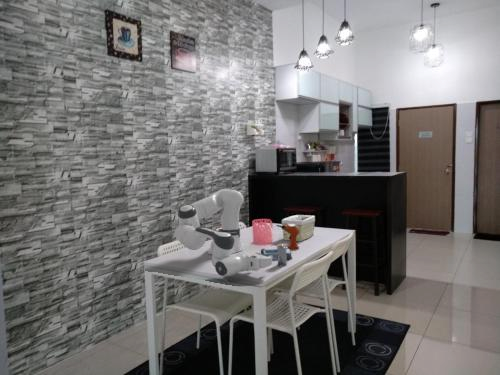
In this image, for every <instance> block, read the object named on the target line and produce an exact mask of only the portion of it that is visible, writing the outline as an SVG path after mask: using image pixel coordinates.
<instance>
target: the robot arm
mask: <svg viewBox="0 0 500 375" xmlns="http://www.w3.org/2000/svg"><path fill="white" fill-rule="evenodd" d="M244 200H245V198H244V195H243V193H241V192H240V191H238V190H236V189H231V188H230V189H229V188H223V189H222V188H221V189H219V190H218V191H216V192H215V193H213V194H211V195H209V196H207V197H204V198H202V199H200V200H197V201H195V202H193V203H191V204H183V205H182V206H180V207H179V208H178V209H177V216H178V226H176V227H175V230H174V237H175V239H176V240H177V241H178V242H179V243H180V244H181V245H183V246H184V247H185V248H187V250H191V251H196V250H197V251H198V250H199V249H201V248H202V247H204V245H205V244H206V241H207V239H210V240H211V242H210V245H209V246H210V247H208V248H207V250H206V254H208V255H211V264H212V265H213V267H214V268H215V272H216V273H217V274H218V275H219V276H220V277H230V276H234V275H237V274H239V273H243V272H248V271H254V272H255V271H256V272H257V271H260V269H264V268H267V267H270V266H271V265H272V264H273V260H272V259H273V256H271V255H270V256H264V255H260V254H261V252H250V251H243V246H242V242H241V228H240V218H239V217H240V211H241V210H240V209H241V206H242V205H243V203H244V202H245V201H244ZM221 209H223V212H222V214H221V217H220V220H221V221H220V222H221V228H218V229H217V230H216V229H213V228H210V227H206V226H201V224H200V220H203V219H205V218H208V217H210V216H213V215H215V214H217V213H218V212H219V211H220V210H221ZM235 253H237V254H236V255H233V254H235Z"/></svg>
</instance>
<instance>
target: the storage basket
mask: <svg viewBox="0 0 500 375" xmlns="http://www.w3.org/2000/svg"><path fill="white" fill-rule="evenodd" d="M315 222H316V216H315V215H307V214H305V215H304V214H296V215H291V216H288V217H285V218H283V219H281V226H283V225H284V226H295V227H297V228H298V229H299V234H298V235H297V237H296V242H303V241H305V240H307V239H310V238H311V237H313V236H314V231H315ZM290 235H291V234H289V233H288V232H286V231H285V230H284V229H282V238H283V240H284V241H290V239H289V237H290Z"/></svg>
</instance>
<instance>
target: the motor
mask: <svg viewBox="0 0 500 375" xmlns="http://www.w3.org/2000/svg"><path fill="white" fill-rule="evenodd" d="M286 248H287V246H286V245H285V244H283V243H280V244H278V246H277V247H276V249H277V255H278V260H277V266H279V267H286V266H287V264H288V263H287V262H288V260H287V258H286Z"/></svg>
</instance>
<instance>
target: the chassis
mask: <svg viewBox="0 0 500 375" xmlns="http://www.w3.org/2000/svg"><path fill="white" fill-rule="evenodd" d="M260 255H264V256H270V255H271V256H273V259H272V261H276V260H277V261H278V255H277V248H271V249H269V248H268V249H266V248H261V249H260ZM286 258H287V261H288V260H292V259H293V255H292V252H291V249H288V247H286Z"/></svg>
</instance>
